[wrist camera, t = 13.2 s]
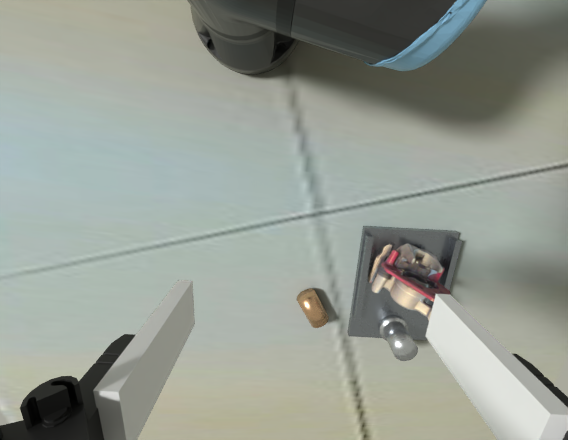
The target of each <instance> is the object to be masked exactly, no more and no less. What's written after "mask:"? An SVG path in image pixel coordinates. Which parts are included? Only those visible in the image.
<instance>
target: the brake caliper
mask: <svg viewBox="0 0 568 440" xmlns="http://www.w3.org/2000/svg"><path fill="white" fill-rule="evenodd" d="M391 248H392V245H390V244H389V245H387V246H385V247H384V248H383V252H382V254H380V255H378V256H377V258H376V260H375V262H374V265H373V268H372V270H371V272H370V274H369V277H368V282H369V283H372V282H373V280H374V282H373V284H372V291H373V292H374V293H379V292H380V291H381V289H382V288H383V287H384V288H385V289H387V290H388V291H389V292H390V295H391V297H392V299H393V300H394V301H395V302H396V303H398V304H399V305H400V306H402V307H404V308H406V309H409V310H415V311H418V312H420V313H421V314H423V315H424V316H426V317H427V318H428V321H429V320H430V315H431V311H432V307H433V306H431V305H429V304H427V302H428V301H429V300H431V301H433V302H434V299H435V295H436V294H450V291H449V290H448V289H447V288H445V287H444V286H442V285H441V284H440V283H439V282H438V280H439V279H440V277H441V275H442V274H443V272H444V270H445V269H444V267H442V266H441V264H440V262H439V261H438V259H437V257H436V256H435V255H434V254H433V253H432V252H429V251H427V250H424V249H420V248H417V247H415V246H413V245H410V244H405V245H402V246H400V247H399V248H398V249H397V250H392V252H391V254H390V251H391ZM387 256H389V257H388V258H387V259H386V260H385V258H386V257H387ZM384 260H385V261H384ZM376 274H377V275H376ZM375 276H376V278H375ZM374 278H375V279H374Z"/></svg>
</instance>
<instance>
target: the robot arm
mask: <svg viewBox="0 0 568 440" xmlns="http://www.w3.org/2000/svg"><path fill="white" fill-rule="evenodd" d="M486 1H487V0H188V2H189V3H190V5H191V13H192V18H193V22H194V25H195V28H196V31H197V33H198V35H199V37H200V39H201V41H202V43H203V44H204V46H205V47H206V48H207V50H208V51H209V52H210V53H211V54H212V55H213V57H214V58H215V59H216V60H218V61H219V62H220V63H221V64H222V65H224V66H225V67H227V68H229V69H231V70H233V71H236V72H239V73H243V74H260V73H264V72H267V71H270V70H272V69H274V68H275V67H277V66H279V65H280V64H281V63H282V62H284V61H285V60H286V59H287V58H288V56H289V55H290V54H291V53H292V51H293V50H294V48H295V46H296V44H297V42H298V40H300V41H303V42H306V43H309V44H312V45H316V46H319V47H322V48H325V49H328V50H331V51H334V52H337V53H340V54H343V55H347V56H350V57H353V58H356V59H359V60H362V61H363V62H364V63H365V64H367V65H369V66H376V67H378V66H383V67H386V68H390V69H394V70H398V71H410V70H414V69H417V68H419V67H422V66H424V65H425V64H427V63H429V62H430V61H432V60H433V59H435V58H436V57H437V56H438V55H440V54H441V53H442V52H443V51H444V50H445V49H446V48H448V47H449V46H450V45H451V44H452V43H453V42H454V41H455V40H456V39H457V38H458V37H459V35H460V34H461V33H462V32H463V31H464V30H465V29H466V27H467V26H468V25H469V24H470V23H471V21H472V20H473V19H474V18H475V16H476V15H477V14H478V12H479V11H480V10H481V8H482V7H483V5H484V4H485V2H486ZM194 324H195V321H194V301H193V282H192V281H188V280H178V281H177V282H176V283H175V285H174V286H173V287H172V289H171V290H170V291H169V293H168V294H167V295H166V296H165V298H164V299H163V300H162V302H161V303H160V304H159V306H158V307H157V308H156V309H155V311H154V312H153V313H152V315H151V316H150V317H149V319H148V320H147V321H146V322H145V324H144V325H143V326H142V328H141V329H140V330H139V332H138V333H137V334H136V335H129V334H124V335H123V336H121V337H120V338H118V339H117V340H115V341H114V342H113V343H111V345H110V346H109V347H108V348H107V349H106V350H105V352H104V353H103V355H101V356H100V357H99V359H98V360H97V361H96V363H95V364H94V365H93V366H92V367H91V368H90V369H89V370H88V372H87V373H86V374H85V375H84V376H83V377H82V379H81V380H80V381H79V382H78V380H77V378H74V377H72V376H61V377H58V378H54V379H51V380H49V381H47V382H45V383H43V384H41V385H39V386H38V387H37V388H35V389H34V390H32V391H31V392H30V393H29V394H28V395H27V396H26V398H25V399H24V400H23V402H22V404H21V407H20V410H21V413H22V416H23V419H24V420H23V421H19V422H14V423H10V424H6V425H1V426H0V440H137V439H138V437H139V435H140V433H141V431H142V429H143V427H144V425H145V423H146V421H147V419H148V417H149V415H150V413H151V411H152V409H153V407H154V405H155V403H156V401H157V399H158V397H159V395H160V393H161V391H162V389H163V387H164V385H165V383H166V381H167V379H168V377H169V375H170V373H171V371H172V368H173V366H174V364H175V362H176V360H177V358H178V356H179V354H180V352H181V350H182V348H183V346H184V344H185V342H186V340H187V338H188V336H189V334H190V332H191V330H192V328H193V326H194ZM426 338H427V339H428V341H429V342H430V343H431V345H432V346H433V348H434V349H435V351H436V352H437V354H438V355H439V356H440V358H441V359H442V361H443V362H444V364H445V365H446V366H447V368H448V369H449V371H450V372H451V374H452V375H453V376H454V378H455V379H456V381H457V382H458V384H459V385H460V387H461V388H462V389H463V391H464V392H465V394H466V395H467V397H468V398H469V399H470V401H471V402H472V404H473V405H474V407H475V408H476V410H477V411H478V412H479V414H480V415H481V417H482V418H483V420H484V421H485V422H486V424H487V425H488V427H489V428H490V430H491V431H492V433H493V434H494V435H495V437H496V438H497V440H568V397H567V396H566V395H565V394H564V393H562V392H561V391H560V390H559V389H558V388H557V387H554V384H553V383H552V382H551V381H550V380H548V379H547V378H546V377H544V375H543V374H542V373H541V372H540V371H539V370H538V369H537V368H535V367H534V366H533V365H532V364H531V363H529V362H528V361H526V360H525V359H523V358H522V357H520V356H519V355H517V354H511V353H510V352H509V351H508V350H507V349H506V348H505V347H504V346H503V345H502V344H501V343H500V342H499V341H498V340H497V339H496V338H495V337H494V336H493V335H492V334H491V333H490V332H489V331H488V330H486V329H485V328H484V327H483V326H482V325H481V324H480V323H479V322H478V321H477V320H476V319H475V318H474V317H473V316H472V315H471V314H470V313H469V312H468V311H467V310H466V309H465V308H464V307H463V306H462V305H461V304H459V303H458V302H457V301H456V300H455V299H454V298H453V297H452V296H451V295H450V294H436V295H435V299H434V303H433V307H432V311H431V315H430V320H429V324H428V328H427V332H426Z"/></svg>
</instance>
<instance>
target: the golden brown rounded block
mask: <svg viewBox="0 0 568 440" xmlns="http://www.w3.org/2000/svg"><path fill="white" fill-rule="evenodd" d="M297 301H298V303H299V304H300V306H301V308H302V310H303V312H304V313H305V315H306V317H307V319H308V320H309V322H310V324H311V326H312V327H314V328H319V327H322V326H324V325H325V324H326V323H327V322H328V319H329V316H328V314H327V313H326V311H325V309H324V307H323V305H322V303H321V301H320V300H319V298H318V296H317V294H316V292H315V290H314V289H306V290H304V291H302V292H301V293H300V294H299V295H298V296H297Z"/></svg>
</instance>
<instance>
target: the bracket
mask: <svg viewBox="0 0 568 440" xmlns="http://www.w3.org/2000/svg"><path fill="white" fill-rule="evenodd" d="M458 236H459V232H457V231H448V230H429V229H410V228H392V227H373V226H363V231H362V238H361V244H360V251H359V258H358V265H357V272H356V279H355V286H354V293H353V299H352V306H351V313H350V320H349V327H348V335H349V336H356V337H375V338H383V339H385V340H387V341H388V343H389V345H390V347H391V350H392V352H393V354H394V356H395V357H396V358H397V359H399V360H401V361H407V360H411V359H412V358H414V357H415V356H416V354H417V352H418V348H417V346H416V344H415V343H414V341H413V339H414V340H428V339H427V338H426V332H427V328H428V324H429V321H428V318H427V317H426V316H424V315H423V314H421V313H420V312H418V311H415V310H409V309H406V308H404V307H402V306H400V305H399V304H398V303H396V302H395V301H394V300H393V299H392V297H391V295H390V292H389V291H388V290H387V289H385V288H384V287H383V288H382V289H381V291H380V292H379V293H374V292H373V291H372V284H373V282H374V280H373V282H372V283H369V282H368V277H369V274H370V272H371V270H372V268H373V265H374V262H375V260H376V258H377V256H378V255H380V254H382V252H383V248H384V247H385V246H387V245H389V244H390V245H392V248H391V251H390V254H391V252H392V250H397V249H398V248H399V247H400V246H402V245H405V244H410V245H413V246H415V247H417V248H420V249H424V250H427V251H429V252H432V253H433V254H434V255H435V256H436V257H437V259H438V261H439V262H440V264H441V266H442V267H444V269H445V270H444V272H443V274H442V275H441V277H440V279H439V280H438V282H439V283H440V284H441V285H442V286H444V287H445V288H447V289H448V290H450V286H451V282H452V278H453V275H454V271H455V267H456V263H457V259H458V256H459V252H460V248H461V244H462V241H460V240H459V239H458ZM388 257H389V256H387V257H386V258H385V260H386V259H387V258H388ZM385 260H384V261H385ZM376 275H377V274H376ZM375 278H376V276H375ZM375 278H374V279H375ZM433 303H434V302H433V301H431V300H429V301H428V302H427V304H429V305H431V306H433Z"/></svg>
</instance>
